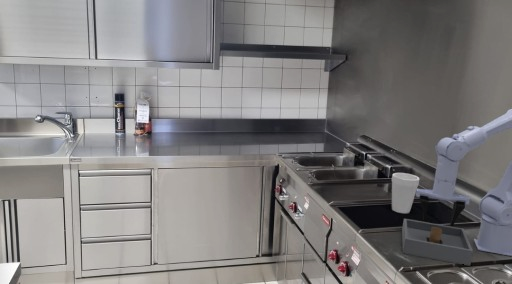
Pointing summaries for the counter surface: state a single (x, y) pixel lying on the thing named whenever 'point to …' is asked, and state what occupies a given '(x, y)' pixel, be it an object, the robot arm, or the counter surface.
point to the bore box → (449, 249)
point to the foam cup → (403, 191)
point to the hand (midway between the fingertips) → (437, 222)
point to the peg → (435, 235)
